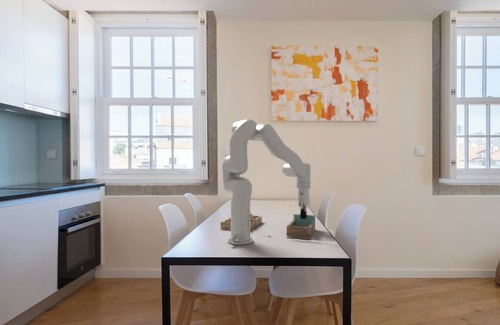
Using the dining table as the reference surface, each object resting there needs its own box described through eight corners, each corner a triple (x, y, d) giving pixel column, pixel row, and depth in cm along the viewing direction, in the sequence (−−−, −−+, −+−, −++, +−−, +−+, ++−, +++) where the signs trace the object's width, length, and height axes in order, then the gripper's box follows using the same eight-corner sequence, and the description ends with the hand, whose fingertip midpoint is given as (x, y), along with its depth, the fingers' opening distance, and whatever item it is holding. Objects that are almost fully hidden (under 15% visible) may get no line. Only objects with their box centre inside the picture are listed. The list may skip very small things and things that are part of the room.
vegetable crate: (248, 231, 170) (248, 224, 170) (220, 228, 175) (220, 222, 175) (261, 222, 194) (261, 216, 194) (237, 220, 200) (237, 214, 200)
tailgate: (314, 230, 168) (314, 215, 168) (293, 228, 172) (293, 214, 172) (315, 229, 169) (315, 215, 169) (293, 227, 173) (293, 213, 173)
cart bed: (310, 240, 151) (310, 228, 151) (286, 238, 155) (286, 226, 155) (314, 232, 168) (314, 221, 168) (293, 230, 172) (293, 219, 172)
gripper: (308, 186, 159) (308, 221, 159) (312, 184, 173) (312, 216, 173) (294, 186, 162) (294, 220, 162) (299, 184, 176) (299, 215, 176)
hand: (303, 218), depth 168 cm, fingers closed
